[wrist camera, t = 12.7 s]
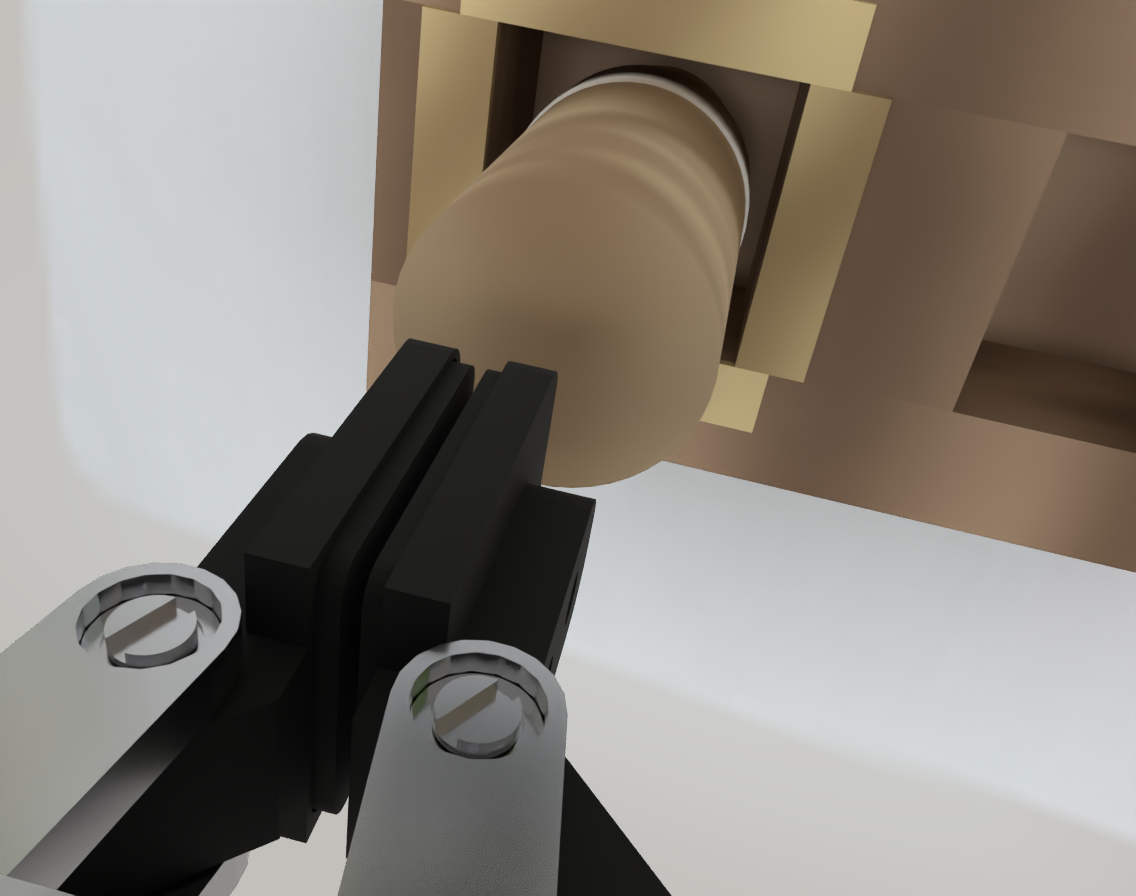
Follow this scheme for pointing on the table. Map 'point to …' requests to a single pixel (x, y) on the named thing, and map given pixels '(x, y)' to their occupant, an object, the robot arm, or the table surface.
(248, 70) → the table surface
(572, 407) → the peg
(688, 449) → the board
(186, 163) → the table surface
